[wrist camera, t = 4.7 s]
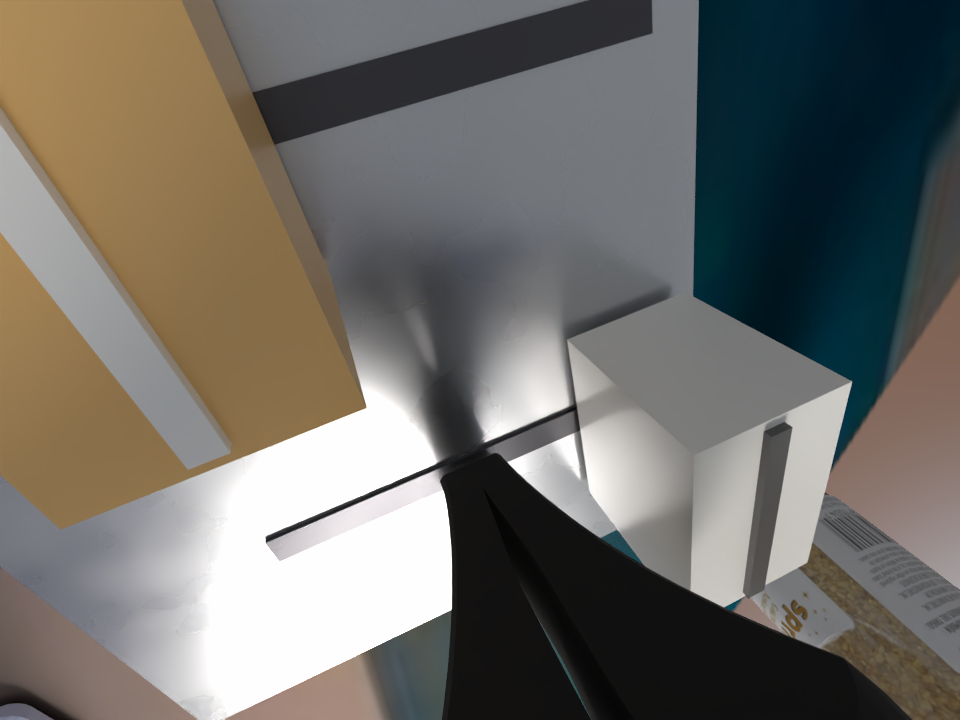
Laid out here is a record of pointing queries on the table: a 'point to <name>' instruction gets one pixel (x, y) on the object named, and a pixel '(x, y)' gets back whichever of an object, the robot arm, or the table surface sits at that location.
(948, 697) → the sprinkles bottle
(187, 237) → the fader knob orange
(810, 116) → the table surface
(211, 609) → the fader panel
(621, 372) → the fader knob white
